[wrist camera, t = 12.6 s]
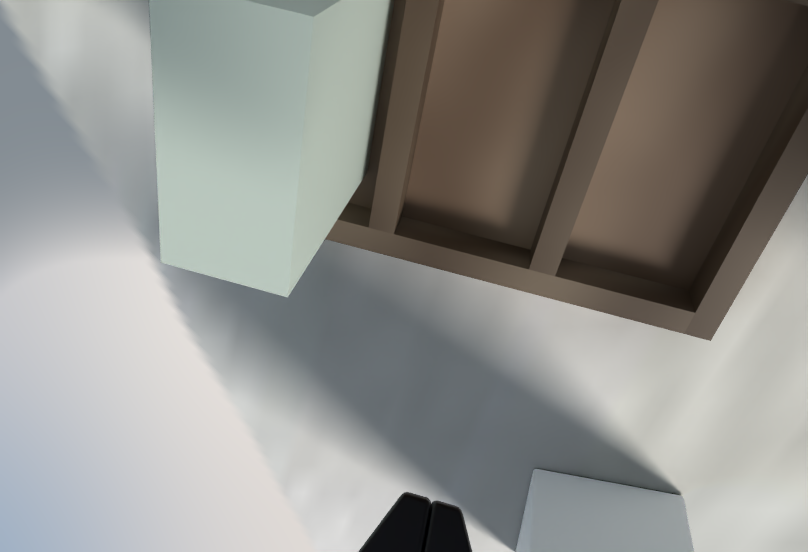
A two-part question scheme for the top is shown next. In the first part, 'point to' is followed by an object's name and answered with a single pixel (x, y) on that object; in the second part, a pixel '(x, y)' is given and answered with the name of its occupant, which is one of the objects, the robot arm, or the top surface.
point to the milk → (600, 517)
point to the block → (261, 129)
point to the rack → (589, 148)
